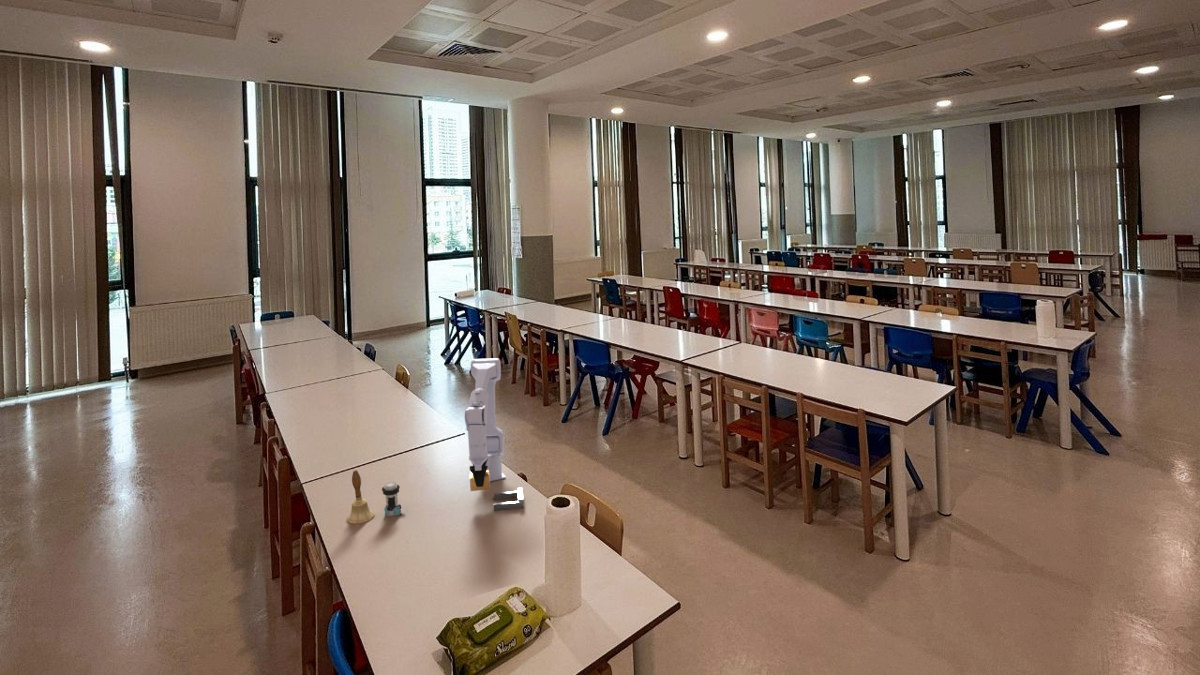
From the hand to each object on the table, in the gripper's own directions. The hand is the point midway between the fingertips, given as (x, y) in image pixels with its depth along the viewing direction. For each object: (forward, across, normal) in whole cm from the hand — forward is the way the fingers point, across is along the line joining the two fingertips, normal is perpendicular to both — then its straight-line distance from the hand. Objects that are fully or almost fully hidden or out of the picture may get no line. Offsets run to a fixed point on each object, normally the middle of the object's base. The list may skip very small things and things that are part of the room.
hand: (480, 482), depth 197 cm
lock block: (+2, 0, 0) cm, 2 cm away
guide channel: (+8, 0, -8) cm, 12 cm away
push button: (+8, 0, +27) cm, 28 cm away
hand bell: (+8, 0, +38) cm, 39 cm away
